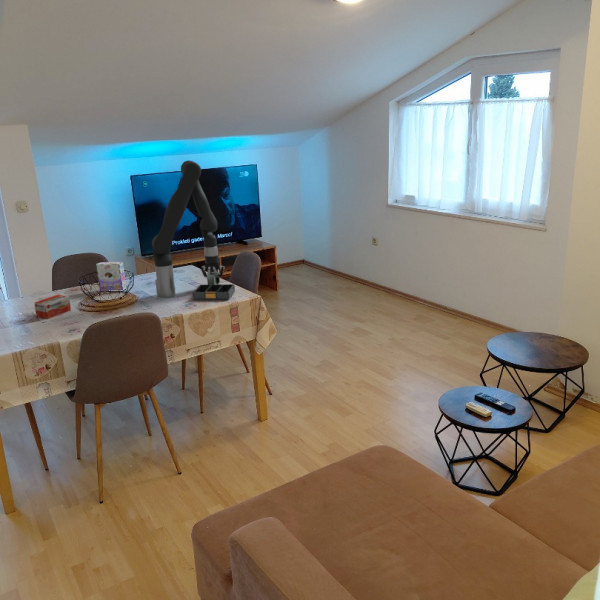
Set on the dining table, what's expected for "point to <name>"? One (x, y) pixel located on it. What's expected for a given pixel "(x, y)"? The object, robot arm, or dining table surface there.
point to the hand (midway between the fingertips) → (214, 283)
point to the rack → (214, 292)
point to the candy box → (111, 276)
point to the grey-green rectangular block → (211, 278)
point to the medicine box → (52, 306)
